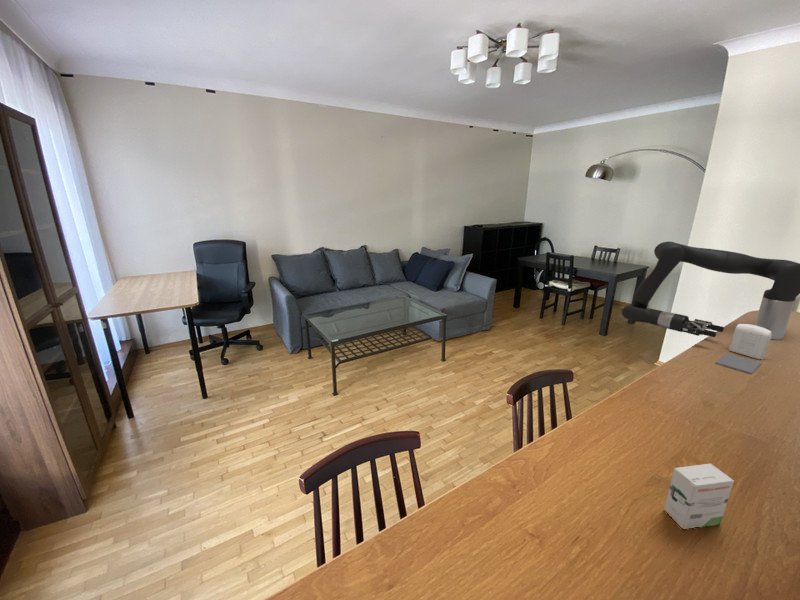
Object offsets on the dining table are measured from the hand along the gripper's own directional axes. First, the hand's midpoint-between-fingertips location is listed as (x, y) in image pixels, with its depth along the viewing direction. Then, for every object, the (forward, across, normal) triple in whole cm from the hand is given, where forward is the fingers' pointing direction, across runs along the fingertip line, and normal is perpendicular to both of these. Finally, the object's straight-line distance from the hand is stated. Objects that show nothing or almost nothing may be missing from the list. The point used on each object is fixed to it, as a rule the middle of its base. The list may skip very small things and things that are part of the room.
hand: (719, 332), depth 138 cm
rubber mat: (+10, -12, +6) cm, 17 cm away
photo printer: (+9, 0, +7) cm, 11 cm away
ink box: (+25, -101, +7) cm, 104 cm away
